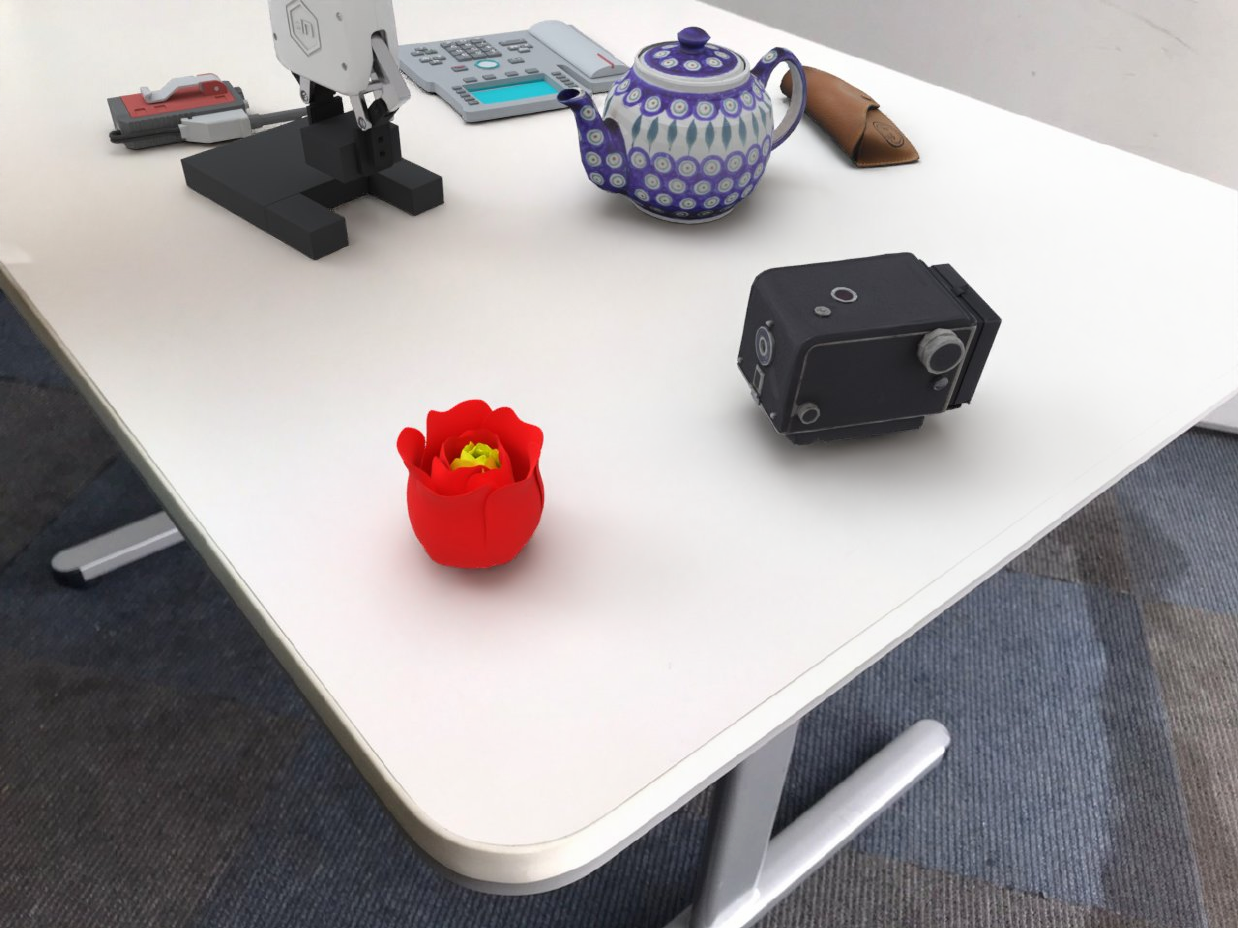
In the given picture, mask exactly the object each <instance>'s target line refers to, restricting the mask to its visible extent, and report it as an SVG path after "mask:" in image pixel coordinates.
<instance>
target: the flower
mask: <svg viewBox="0 0 1238 928" xmlns="http://www.w3.org/2000/svg"><path fill="white" fill-rule="evenodd" d="M425 421H426V423H425V425H426V426H425V427H426V429H425V430H426V431H425V435H424V434H423V433H422V432H421V430H419V429H417V428H415V427H411V426H405V427H404V428H403V429H402V430H401V431H400V432H399V433H398V436H397V439H396V451H397V453H398V454H399V456H400V458H401V460H402V463H403V464H404V466H405V468H406V469H407V470H408V477H407V484H406V506H407V514H408V517H409V522H410V525H411V528H412V530H413V533H414V536H415V537H416V539H417V541H418V542H419V544H420V545H421V546H422V548H423V550H424V552H426V554H427V555H428V557H429V558H430V559H431V560H432V561H433V562H435V563H436V564H438V565H440V566H445V567H451V568H456V569H467V570H468V569H472V570H473V569H474V570H475V569H489V568H492V567H494V566H501V565H505V564H507V563H509V562H511V561H512V560H514V559H515V558H516V557H517V556H518V555H519V553H520V552H522V550H523V549H524V548H525V547H526V545H527V543H529V542H530V540H531V538H532V537H533V535H534V533H535V531H536V530H537V528H538V526H539V524H540V522H541V520H542V515H543V511H544V508H545V499H546V498H545V497H546V496H545V495H546V494H545V485H544V481H543V478H542V475H541V470H540V459H541V453H542V448H543V444H544V440H545V436H544V432H543V430H542V429H541V428H540V426H538V425H535V424H531V423H528V422H525V421H523V419H520V418H519V417H518V415H517V413H516V412H515V410H514V409H513V408H511V407H510V406H500V407H497V408H495V409H494V410H493V409H492V408H491V406H490V405H489V404H488V403H487V401H485V400H483V399H477V398H476V399H473V398H472V399H467V400H463V401H460V402H459V403H457V404H455V405H454V406H452V407H451V408H449V409H447V410H443V411H440V410H435V409H430V410H429V411H428V413H427V414H426V420H425Z"/></svg>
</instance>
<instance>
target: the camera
mask: <svg viewBox="0 0 1238 928" xmlns="http://www.w3.org/2000/svg"><path fill="white" fill-rule="evenodd" d="M1002 323H1003V319H1002V317H1001V316H1000V315H998V313H997V312H996V311H995V310H994V309H993V308H992V307H991V306H990V305H989V304H988V303H987V302H986V301H985V299H984V298H983V297H982V296H981V295H980V294H979V293H978V292H977V291H976V290H975V289H974V288H973V287H972V286H971V285H970V284H969V283H968V281H967V280H965V278H964V277H963V276H962V275H961V274H960V273H959V272H958V271H957V270H956V269H955V268H954V267H953V266H952V265H951V264H950V263H939V264H932V265H930V266H928V265H927V263H926V262H925V261H924V260H922V259H921V258H918V257H917V256H916V255H915V254H914V253H912V252H910V251H902V252H901V251H900V252H891V253H890V252H889V253H882V254H877V255H870V256H862V257H854V258H846V259H840V260H839V259H838V260H830V261H821V262H812V263H803V264H796V265H785V266H778V267H769V268H768V269H764V270H763V271H762V272H760V273H759V274H758V275H756V276H755V278H754V280H753V281H752V284H751V286H750V291H749V295H748V301H747V304H746V310H745V316H744V321H743V328H742V334H741V338H740V343H739V348H738V353H737V357H736V366H737V369H738V370H739V372H740V374H741V376H742V377H743V378H744V380H745V382H746V384H747V385H748V388H749V389H750V395H751V397H752V399H753V401H754V402H755V404H756V406H757V407H761V408H762V410H763V412H764V413H765V415H766V418H767V419H768V420H769V422H770V424H771V426H772V427H773V430H774V431H775V432H776V433H777V434H778V435H779V436H785V437H786V438H787V439H788V440H789V441H790V442H791V443H792V444H793V445H797V446H803V445H809V444H812V443H813V442H815V441H818V440H820V441H822V442H823V443H826V444H828V443H829V442H834V441H841V440H848V439H855V438H856V439H857V438H864V437H871V436H881V435H888V434H896V433H901V432H903V433H904V432H908V431H915V430H916V431H917V430H920V428H921V427H922V425H923V422H924V420H925V417H927V416H928V417H929V416H934V415H940V414H944V413H946V412H948V411H953V410H956V409H960V408H961V407H962V405H964V404H967V405H971V402H972V399H973V397H974V395H975V391H976V389H977V387H978V384H979V381H980V379H981V376H982V373H983V371H984V369H985V366H986V364H987V361H988V358H989V355H990V353H991V351H992V348H993V345H994V343H995V340H996V338H997V335H998V333H999V330H1000V327H1001V325H1002Z"/></svg>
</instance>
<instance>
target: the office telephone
mask: <svg viewBox="0 0 1238 928" xmlns="http://www.w3.org/2000/svg"><path fill="white" fill-rule="evenodd" d="M398 49H399V70H400V71H402V72H403V73H404V74H405V75H407V77H408V78H410V79H411V80H412V81H413V82H414V83H415V84H416V85H418V87H420V88H421V89H423V90H424V91H425V92H428V93H436V94H437V95H438V96H439V97H441V98H442V99H443V100H444V101H445V102H446V103H448V104H449V105H450V106H451V107H452V108H453V109H454V110H455V111H456V112H458V114H460V115H461V116H462V120H463V121H464V122H467V123H476V122H481V121H482V122H483V121H488V120H496V119H501V118H507V117H513V116H514V117H515V116H520V115H521V116H522V115H526V114H533V113H539V112H546V111H552V110H557V109H564V108H569V107H568V106H566V105H564V104H562V103H560V102H559V101H558V100H557V98H556V97H557V95H558V93H559V92H561V91H562V90H564V89H567V88H573V87H578V88H581V89H583V90H584V91H586V92H587V93H588V94H589V95H590V97H591V98H592V99H593V97H592V96H593V94H595V93H596V94H597V93H603V92H609V90H610V88H611V86H612V85H613V84H614V82H615V81H616V80H617V79H618V78H619V77H621V76H622V75H623V74H624V73H625V72H627V71H628V70H629V69H630V68H631V67H630V66H628V65H627V64H626V63H625V62H623V61H622V60H621V59H619V58H617V57H616V56H615V55H614V54H613V53H611V52H610V51H609V50H608V49H606V48H605V47H604V46H602V45H601V44H599V43H598V42H596V41H595V40H593V39H592V38H591V37H589V36H588V35H587V34H585V33H584V32H582V31H581V30H580V29H578V28H577V27H576V26H575V25H573V24H566V23H565V22H564V21H562V20H557V19H548V20H542V21H539V22H537V23H534V24H532V25H531V26H530V27H529V28H528V29H521V30H514V31H506V32H498V33H489V34H483V35H475V36H474V35H473V36H467V37H458V38H451V39H443V40H435V41H426V42H416V43H407V44H406V43H405V44H401V45H400V44H398Z"/></svg>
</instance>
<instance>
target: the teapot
mask: <svg viewBox="0 0 1238 928" xmlns="http://www.w3.org/2000/svg"><path fill="white" fill-rule="evenodd" d="M676 35H677V39H676V40H675V39H674V40H665V41H660V42H659V41H658V42H653V43H650V44H648V45H645V46H643V47H641V48H639V50H638V51H637V52H636V53H635V56H634V58H633V59H634V60H633V61H634V62H633V64H632V65H631V67H630V69H629V70H628V71H627V72H625V73H624V74H623V75H622V76H621V77H619V78H618V79H617V80H616V81H615V82H614V84H613V85H612V86H611V88H610V90H609V91H607V95H606V97H605V99H604V105H603V110H602V115H601V113H600V111H599V109H598V107H597V105H596V103H595V101H594V100H593V97H592V98H591V97H590V95H589V94H588V93H587V92H586V91H584V90H583V89H581V88H578V87H573V88H567V89H564V90H562V91H561V92H559V93H558V95H557V97H556V98H557V100H558V101H559V102H560V103H562V104H564V105H566V106H568V107H567V108H569V109H570V110H571V112H572V114H573V116H574V120H575V125H576V130H577V138H578V146H579V147H578V148H579V155H580V160H581V163H582V166H583V169H584V170H585V173H586V175H587V178H588V180H589V181H591V183H592V184H593V185H595V186H596V187H597V188H598V189H600V190H602V191H604V192H606V193H611V194H617V195H621V196H625V197H627V198H628V199H629V201H630V202H631V203H632V204H633V205H634V207H636V208H637V209H638V210H639V211H641V212H643V213H644V214H647V215H649V216H651V217H653V218H656V219H659V220H663V221H666V222H671V223H676V224H677V223H679V224H687V225H693V224H694V225H695V224H702V223H708V222H713V221H716V220H719V219H721V218H724V217H726V216H728V215H729V214H730V213H732V212H733V211H734V209H735V207H736V206H737V205H738V204H739V203H741V202H742V201H743V200H745V199H746V198H747V197H748V196H750V195H751V194H752V193H753V191H754V190H755V189H756V187H757V186H758V185H759V183H760V182H761V180H762V178H763V176H764V175H765V172H766V169H767V165H768V163H769V160H770V157H771V154H772V152H773V151H774V150H776V149H777V148H778V147H780V146H781V145H782V144H784V143H785V142H786V140H788V139H789V138H790V137H791V135H792V134H793V133H794V132H795V130H796V129H797V128H798V125H799V124H800V121H801V119H802V117H803V115H804V112H805V110H804V109H805V105H806V99H807V80H806V76H805V72H804V69H803V67H802V65H803V64H802V63H801V61H800V60H799V58H798V57H797V56H796V55H795V53H794V52H793V51H792V50H790V49H788V48H787V47H782V46H774V47H773V48H771V49H770V50H769V51H768V52H766V53H765V54H764V55H763V56H762V57H761V58H760V59H759V60H758V62H757V63H756V64H755V65H754V67H753V68H751V63H750V62H749V60H748V58H746V56H745V55H743V54H741V53H740V52H739V51H736V50H734V49H732V48H729V47H727V46H724V45H721V44H717V43H715V42H709V41H710V40H711V38H712V37H711V36H710V34H709V33H708V32H707V31H706V30H705V29H704V28H701V27H699V26H687V27H684V28H682V29H680V31H678V32H677V34H676ZM781 63H786V64H787V66H788V68H789V69H790V71H791V75H792V81H793V93H792V98H791V100H790V102H789V106H788V109H787V111H786V114H785V115H784V117H783V119H782V120H781V122H780V123H779V124H778V125H777V126H776V128H775V122H774V121H775V120H774V111H773V103H772V99H771V97H770V95H769V93H768V91H767V90H766V89H767V87H768V82H769V80H770V77H771V74H772V72H773V71H774V69H776V67H777V66H778V65H779V64H781Z"/></svg>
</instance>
